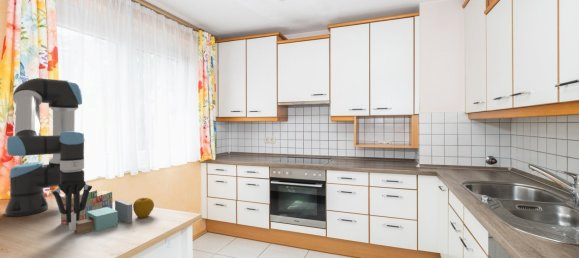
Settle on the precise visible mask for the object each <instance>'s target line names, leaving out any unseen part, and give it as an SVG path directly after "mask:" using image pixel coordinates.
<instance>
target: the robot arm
mask: <svg viewBox="0 0 579 258" xmlns="http://www.w3.org/2000/svg"><path fill="white" fill-rule="evenodd" d="M12 100H13V102H14V104H15V121H14V122H15V123H14V124H15V126H14V136H13V135H11V136H8V137H7V140H6V149H7V155H9V156H11V157H13V156H14V157H16V156H17V157H24V156H25V157H26V156H40V155H41V156H42V155H52V157H51V158H50V159H49V160H48V164H44V162H43V161H37V162H35V161H34V162H33V161H32V162H28V163H27V162H26V163H23V164H18V165H15V166H12V167H11V168H10V173H9V179H10V180H9V182H10V183H9V187H10V188H9V189H10V191H9V192H10V194H9V195H10V196H9V197H10V198H9V200H8V202H7V205H6V208H5V211H4V214H5V216H6V217H23V216H29V215H30V216H31V215H35V214H36V215H37V214H39V213H42V212H45V211H47V210H48V209H49V203H48V201H47V199H46V197H45V194H44V189H48V188H56V189H53V190H51V192H50V193H51V194H52V195H53V196H54V198H55V201H56V204H57V208H58V210H59V213H60V214H61V213H62V214H66V222H67V223H69V225H68V229H69V231H71V232H74V230H76V221H78V220H79V213H80V211H82V210H84V209H85V206H86V202H87V198H88V195H89V191H90V190H92V188H93V186H92V185H90V184H87V183H86V181H85V170H84V169H85V141H86V140H85V134H84V132H83V131H81V130H80V131H79V130H75V118H76V117H75V114H76V113H75V112H76V110H78V109H79V106H81V105H82V104H83V97H82V90H81V86H80V84H79V83H78V82H77V81H74V80H64V79H53V78H41V77H40V78H39V77H37V78H32V79H28V80H26V81H24V82H22V83H20V84H19V85H18V86H17V87H16V88H15V90H14V92H13V94H12ZM41 104H48V108H50V109H51V110H52V135H41V134H42V133H41V117H40V114H41V113H40V105H41ZM82 190H84V191H83V195H82V198H81V202H80V206H79V196H80V191H82ZM61 192H62V193H63V194H64V196H65V197H66V210H65V208H64V205H63V202H62V199H61ZM72 194H73V196H74V212H73V213H72Z"/></svg>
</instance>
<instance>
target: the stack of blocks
mask: <svg viewBox="0 0 579 258" xmlns="http://www.w3.org/2000/svg"><path fill="white" fill-rule="evenodd" d="M83 191H84V189H82V190H81V191H80V196H79V206H80V202H81V198H82V195H83ZM60 196H61V195H60ZM61 199H62V202H63V205H64V208H65V210H66V197H65V195H62V196H61ZM113 200H114V199H113V191H109V190H108V191H105V190H101V191H98V189H91V190H90V191H89V195H88V198H87V202H86V206H85V209H84V210H82V211H80V213H79V220H78V221H81V220H85V219H87V211H91V210H96V209H100V208H105V207H109V208H111V209H113V203H114V202H113ZM73 212H74V196H73V194H72V213H73ZM60 217H61V218H60V224H61V225H67V226H69V223H67V222H66V214H62V213H60ZM76 222H77V221H76Z"/></svg>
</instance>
